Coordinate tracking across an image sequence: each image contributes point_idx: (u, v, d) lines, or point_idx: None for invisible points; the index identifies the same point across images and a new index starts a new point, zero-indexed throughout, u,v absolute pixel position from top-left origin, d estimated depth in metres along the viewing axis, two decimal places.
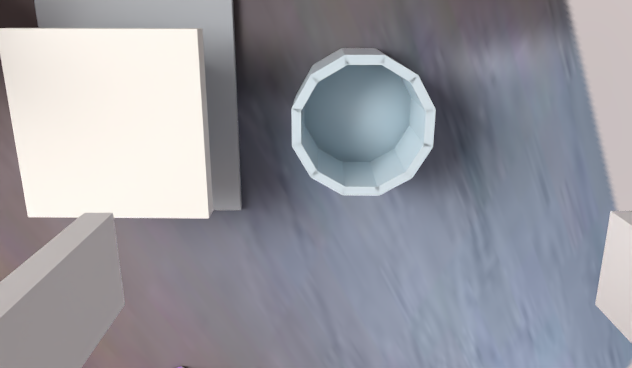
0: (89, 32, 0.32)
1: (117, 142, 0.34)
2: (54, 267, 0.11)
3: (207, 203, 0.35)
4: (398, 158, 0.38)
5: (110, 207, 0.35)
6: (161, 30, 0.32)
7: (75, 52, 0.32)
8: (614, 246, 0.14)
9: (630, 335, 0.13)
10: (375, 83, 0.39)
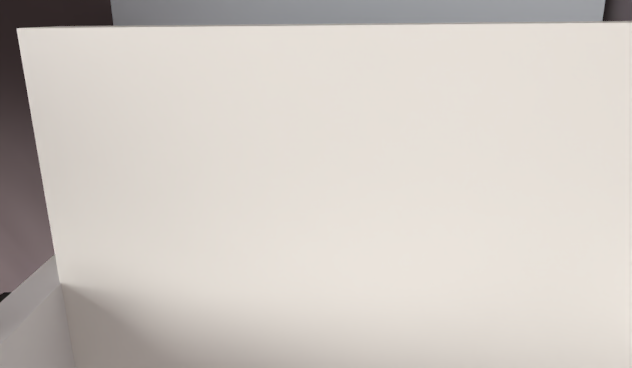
0: (352, 37, 0.09)
1: None
2: None
3: None
4: None
5: None
6: (618, 28, 0.09)
7: (294, 109, 0.09)
8: None
9: None
10: None
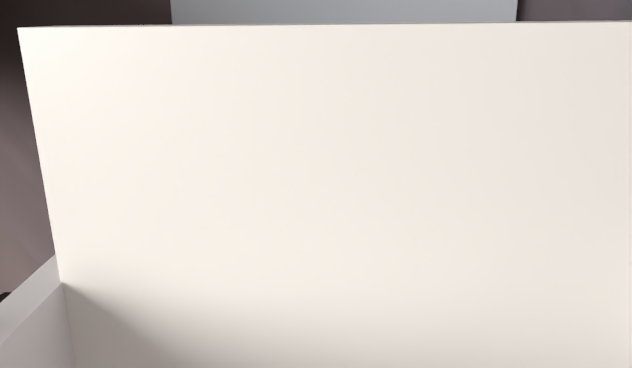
0: (352, 37, 0.09)
1: None
2: None
3: None
4: None
5: None
6: (617, 28, 0.09)
7: (294, 108, 0.09)
8: None
9: None
10: None
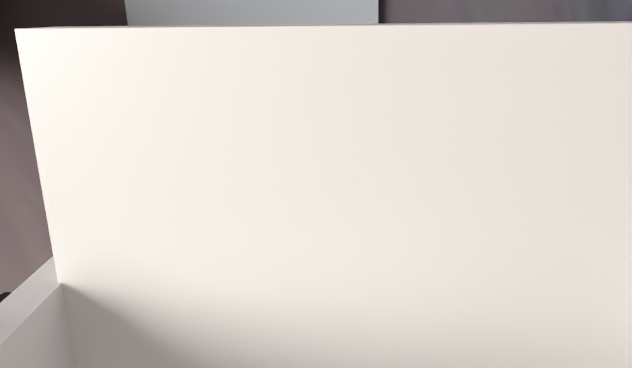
0: (350, 38, 0.09)
1: None
2: None
3: None
4: None
5: None
6: (615, 29, 0.09)
7: (292, 109, 0.09)
8: None
9: None
10: None
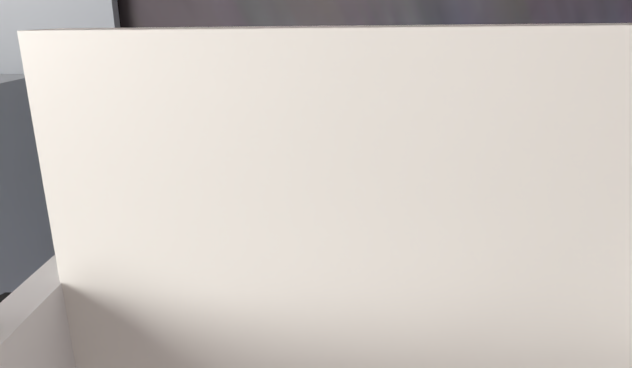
0: (352, 40, 0.09)
1: None
2: None
3: None
4: None
5: None
6: (618, 31, 0.09)
7: (294, 111, 0.09)
8: None
9: None
10: None
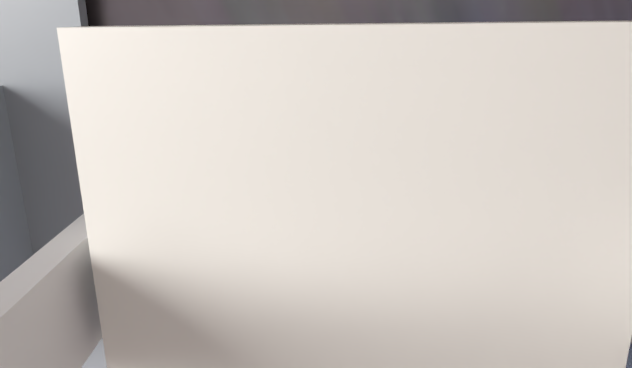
0: (347, 36, 0.10)
1: (388, 340, 0.12)
2: (54, 267, 0.11)
3: None
4: None
5: None
6: (577, 27, 0.10)
7: (297, 98, 0.11)
8: None
9: None
10: None
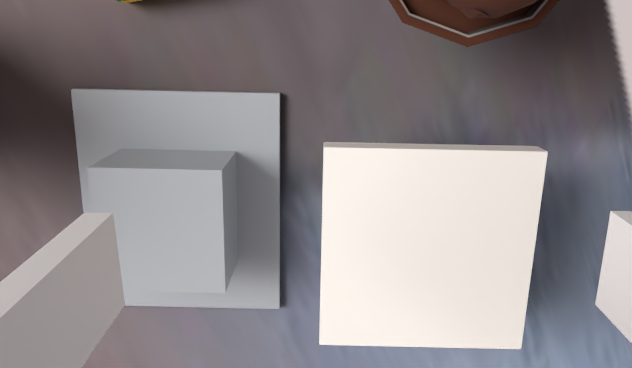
0: (427, 153, 0.29)
1: (435, 267, 0.31)
2: (54, 267, 0.11)
3: (522, 333, 0.32)
4: None
5: (413, 336, 0.32)
6: (508, 152, 0.29)
7: (407, 173, 0.29)
8: (614, 246, 0.14)
9: (630, 335, 0.13)
10: None
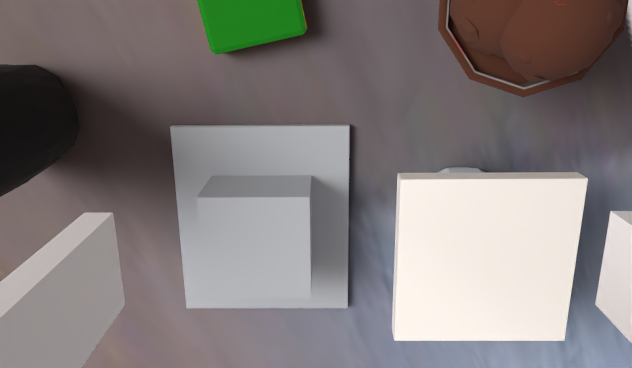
0: (487, 182, 0.35)
1: (493, 275, 0.37)
2: (54, 267, 0.11)
3: (565, 327, 0.38)
4: None
5: (473, 331, 0.38)
6: (554, 180, 0.35)
7: (470, 199, 0.35)
8: (614, 246, 0.14)
9: (630, 335, 0.13)
10: None
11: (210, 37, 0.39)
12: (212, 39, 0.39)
